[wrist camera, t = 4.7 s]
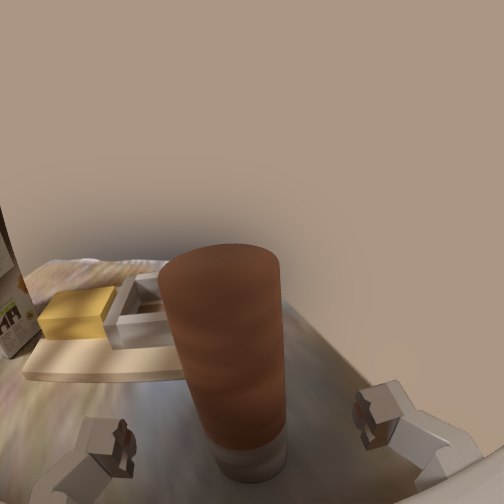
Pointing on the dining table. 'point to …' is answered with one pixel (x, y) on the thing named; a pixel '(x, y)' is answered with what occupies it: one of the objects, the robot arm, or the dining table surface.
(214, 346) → the terracotta peg
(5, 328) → the coffee box
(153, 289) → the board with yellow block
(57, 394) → the dining table surface
